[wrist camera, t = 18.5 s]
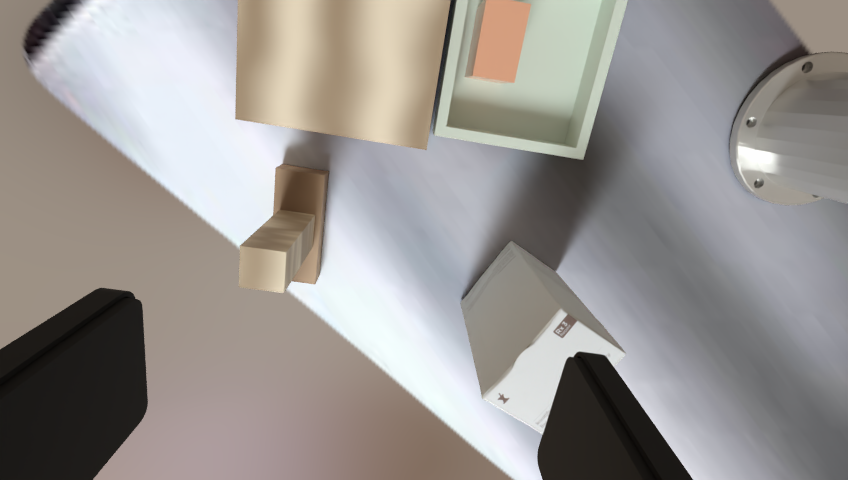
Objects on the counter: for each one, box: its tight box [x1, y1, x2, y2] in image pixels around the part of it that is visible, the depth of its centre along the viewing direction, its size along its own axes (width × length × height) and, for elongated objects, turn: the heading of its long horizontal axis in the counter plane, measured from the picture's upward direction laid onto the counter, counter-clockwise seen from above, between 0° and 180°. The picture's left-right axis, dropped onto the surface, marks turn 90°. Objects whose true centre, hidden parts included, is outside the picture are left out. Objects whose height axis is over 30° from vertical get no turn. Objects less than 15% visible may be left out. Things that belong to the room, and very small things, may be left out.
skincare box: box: [460, 241, 626, 435], centre depth 35 cm, size 8×6×15 cm
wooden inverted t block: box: [239, 164, 329, 293], centre depth 34 cm, size 4×10×11 cm, turn 171°
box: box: [433, 0, 628, 160], centre depth 34 cm, size 12×14×4 cm
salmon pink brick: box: [465, 0, 531, 84], centre depth 32 cm, size 5×5×3 cm
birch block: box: [235, 0, 451, 150], centre depth 32 cm, size 14×16×5 cm
